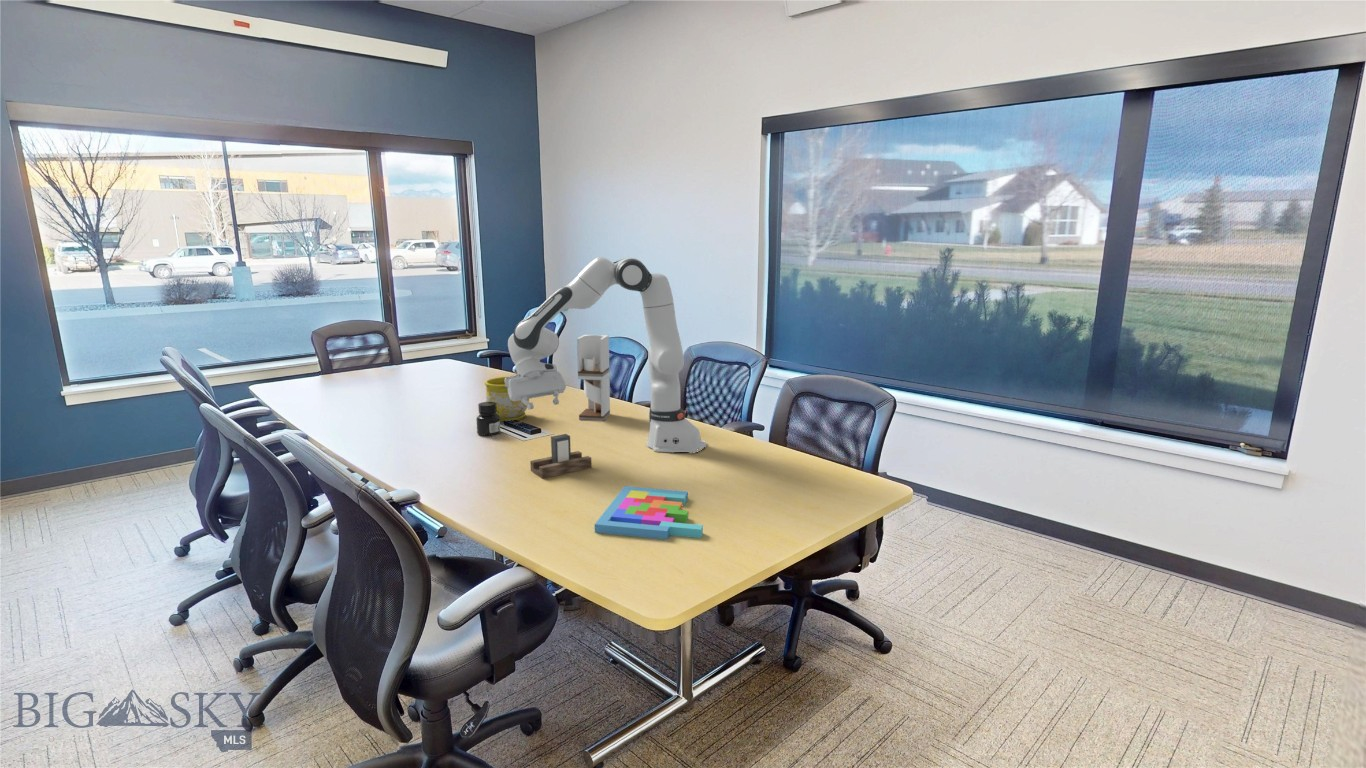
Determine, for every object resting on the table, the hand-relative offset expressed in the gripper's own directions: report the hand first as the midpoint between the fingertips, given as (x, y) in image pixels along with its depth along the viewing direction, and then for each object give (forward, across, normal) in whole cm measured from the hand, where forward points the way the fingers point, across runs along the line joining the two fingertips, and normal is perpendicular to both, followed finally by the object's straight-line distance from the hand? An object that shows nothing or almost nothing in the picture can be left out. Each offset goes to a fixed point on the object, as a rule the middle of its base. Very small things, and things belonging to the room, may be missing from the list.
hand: (544, 406), depth 228 cm
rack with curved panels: (-12, +40, +43) cm, 60 cm away
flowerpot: (-26, +8, +56) cm, 62 cm away
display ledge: (+23, -1, +4) cm, 23 cm away
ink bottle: (-15, -6, +43) cm, 46 cm away
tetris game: (+58, +5, -32) cm, 66 cm away
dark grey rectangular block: (+22, -1, +3) cm, 22 cm away
